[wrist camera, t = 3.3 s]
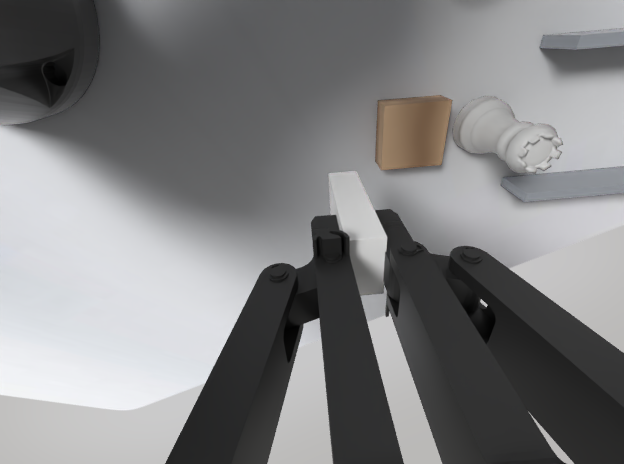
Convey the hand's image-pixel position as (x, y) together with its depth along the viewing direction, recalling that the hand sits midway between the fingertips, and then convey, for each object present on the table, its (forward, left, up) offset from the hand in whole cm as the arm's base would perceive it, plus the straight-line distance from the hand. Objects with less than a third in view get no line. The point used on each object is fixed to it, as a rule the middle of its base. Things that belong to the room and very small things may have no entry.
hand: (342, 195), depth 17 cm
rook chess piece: (+13, 0, -11) cm, 17 cm away
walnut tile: (+7, 0, -11) cm, 13 cm away
